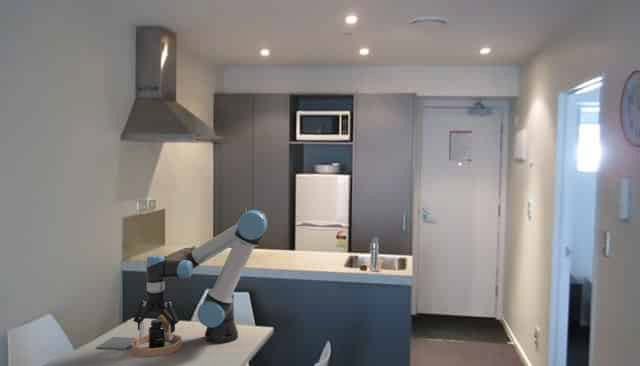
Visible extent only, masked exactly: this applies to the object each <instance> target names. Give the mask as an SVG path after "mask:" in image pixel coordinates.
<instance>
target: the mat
mask: <svg viewBox="0 0 640 366" xmlns="http://www.w3.org/2000/svg"><path fill="white" fill-rule="evenodd" d="M136 338H137V337H123V336H122V337H121V336H112V337H111V338H109V339H107V340H106V341H104V342H102V343H101V344H99V345H98V346H96V347H95V349H96V350H98V349H100V350H116V351H128V349H130V348H132V344H131V342H132V341H133V340H135V339H136Z"/></svg>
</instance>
